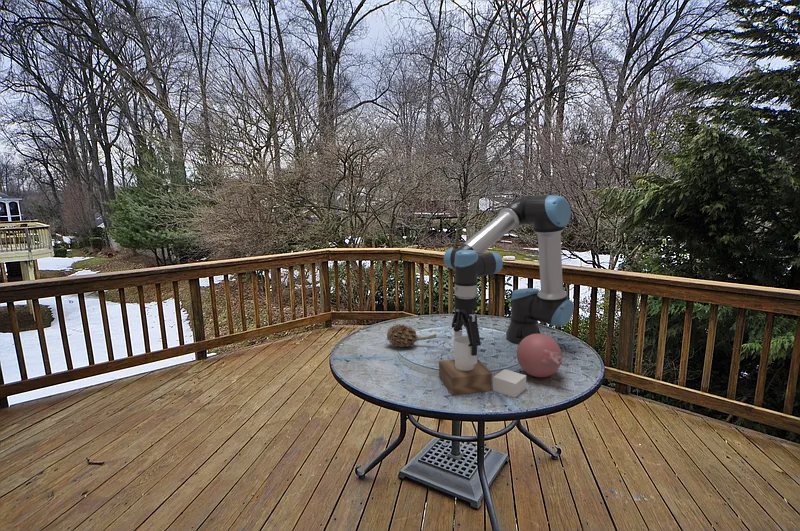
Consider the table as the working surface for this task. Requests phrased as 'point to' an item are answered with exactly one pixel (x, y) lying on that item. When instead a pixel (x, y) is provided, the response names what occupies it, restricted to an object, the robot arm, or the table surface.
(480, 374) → the walnut block
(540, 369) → the balloon
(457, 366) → the white cup
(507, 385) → the pale block
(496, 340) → the table surface
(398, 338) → the pine cone
